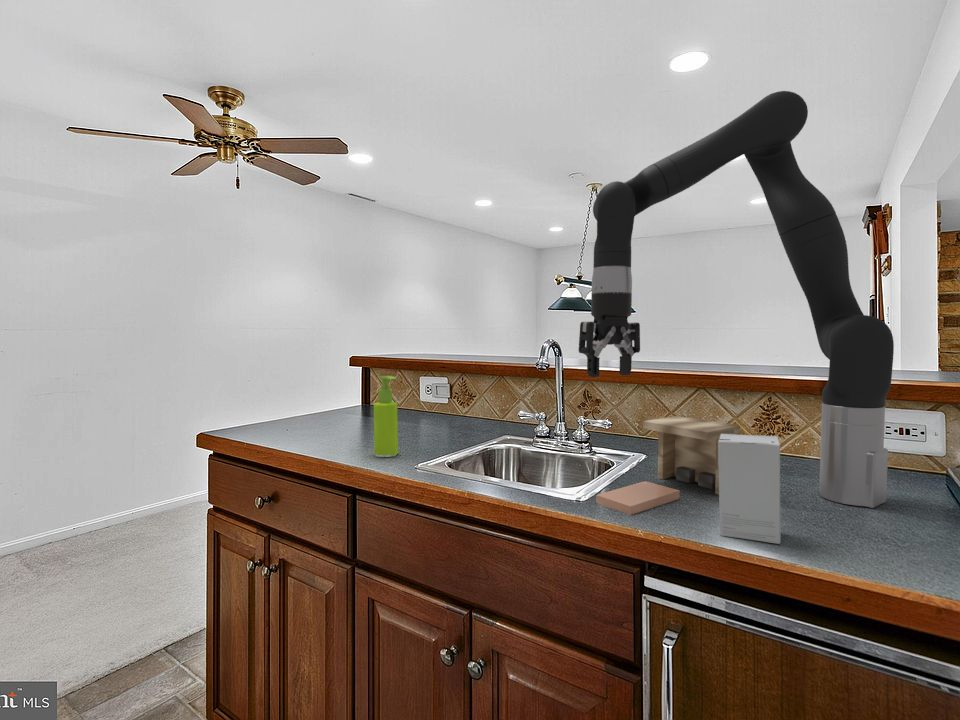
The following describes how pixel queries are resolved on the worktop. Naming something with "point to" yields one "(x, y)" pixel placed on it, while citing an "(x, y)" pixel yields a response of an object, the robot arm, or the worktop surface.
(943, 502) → the worktop surface
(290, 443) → the worktop surface
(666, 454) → the shelf
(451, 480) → the worktop surface
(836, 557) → the worktop surface
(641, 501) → the tile
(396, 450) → the soap dispenser
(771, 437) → the skincare box
